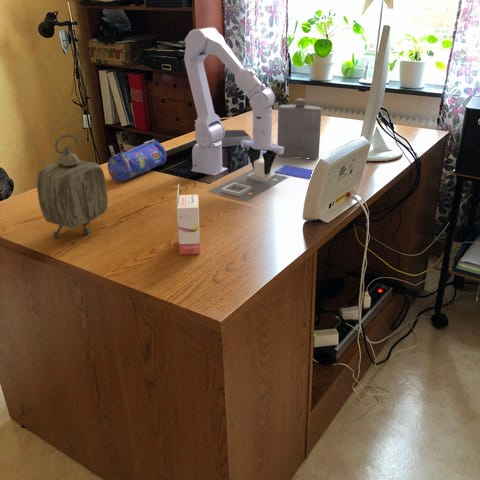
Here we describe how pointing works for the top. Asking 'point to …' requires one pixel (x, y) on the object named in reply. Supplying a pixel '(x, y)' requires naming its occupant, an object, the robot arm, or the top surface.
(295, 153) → the flask
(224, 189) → the port panel
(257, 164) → the plug
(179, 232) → the ink cartridge box
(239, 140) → the external hard drive
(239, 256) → the top surface
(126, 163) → the pencil case
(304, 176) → the hard drive
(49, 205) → the tabletop clock
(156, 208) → the top surface
